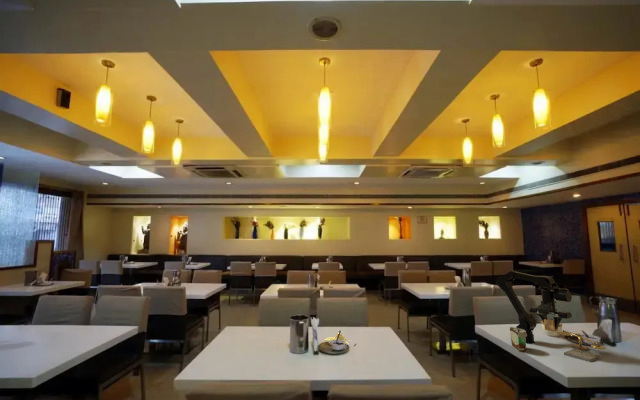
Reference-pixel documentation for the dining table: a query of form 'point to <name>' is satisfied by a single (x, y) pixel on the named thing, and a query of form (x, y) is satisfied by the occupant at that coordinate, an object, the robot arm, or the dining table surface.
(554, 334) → the lidded jar
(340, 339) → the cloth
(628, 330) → the dining table surface
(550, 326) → the oak block
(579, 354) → the grey stone square slab
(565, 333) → the brass balance
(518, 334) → the food container
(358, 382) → the dining table surface
